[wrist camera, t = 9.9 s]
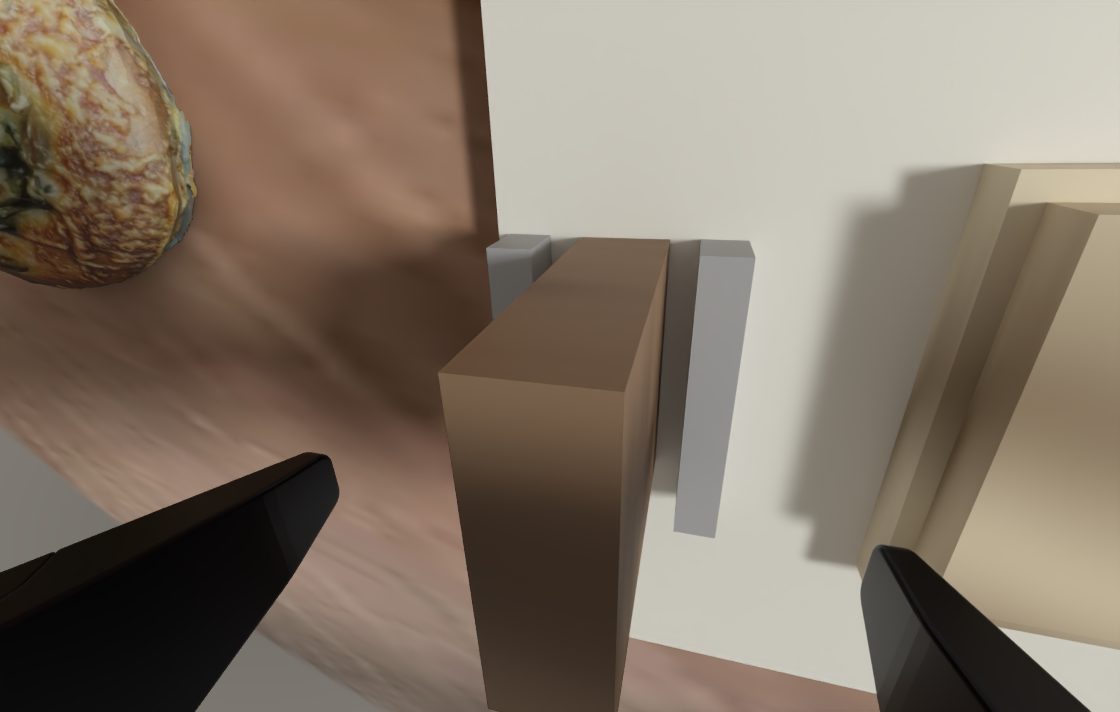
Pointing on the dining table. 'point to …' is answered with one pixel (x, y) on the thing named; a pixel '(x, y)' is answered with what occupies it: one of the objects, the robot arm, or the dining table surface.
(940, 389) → the offcut stack
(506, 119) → the rack
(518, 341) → the walnut panel
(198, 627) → the robot arm
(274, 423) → the dining table surface
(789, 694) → the dining table surface
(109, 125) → the bread roll
